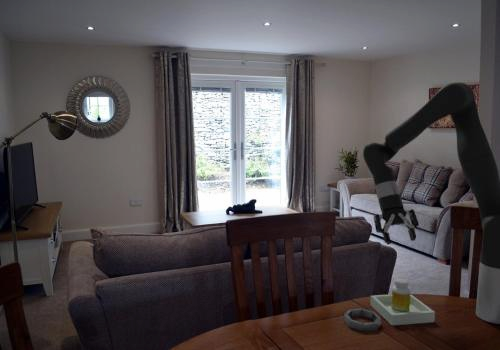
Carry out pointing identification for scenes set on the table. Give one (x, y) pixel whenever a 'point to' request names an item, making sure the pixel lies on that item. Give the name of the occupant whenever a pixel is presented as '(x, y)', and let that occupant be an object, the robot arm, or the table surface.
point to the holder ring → (359, 325)
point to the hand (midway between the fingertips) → (401, 242)
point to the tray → (415, 314)
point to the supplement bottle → (400, 296)
